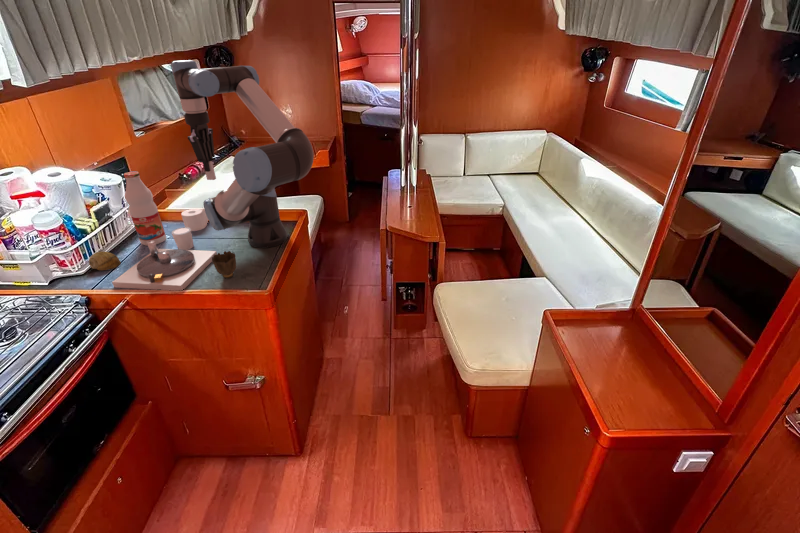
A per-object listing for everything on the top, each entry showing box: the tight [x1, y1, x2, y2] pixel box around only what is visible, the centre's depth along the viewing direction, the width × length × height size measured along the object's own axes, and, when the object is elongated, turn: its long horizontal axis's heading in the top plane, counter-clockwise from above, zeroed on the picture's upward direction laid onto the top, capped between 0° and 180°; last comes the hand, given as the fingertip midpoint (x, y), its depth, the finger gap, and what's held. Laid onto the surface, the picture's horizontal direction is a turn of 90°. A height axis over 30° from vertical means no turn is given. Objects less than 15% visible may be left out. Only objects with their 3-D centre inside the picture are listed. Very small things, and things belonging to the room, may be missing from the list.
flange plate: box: [137, 241, 195, 282], centre depth 146 cm, size 18×20×7 cm
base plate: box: [111, 248, 218, 291], centre depth 148 cm, size 24×24×5 cm
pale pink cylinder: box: [171, 226, 195, 250], centre depth 164 cm, size 7×7×7 cm
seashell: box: [88, 250, 122, 272], centre depth 152 cm, size 10×7×8 cm
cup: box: [212, 250, 237, 279], centre depth 143 cm, size 8×7×8 cm
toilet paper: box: [180, 206, 209, 232], centre depth 181 cm, size 8×11×7 cm
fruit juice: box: [123, 170, 167, 247], centre depth 163 cm, size 9×9×28 cm
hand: (211, 179), depth 154 cm, fingers closed
